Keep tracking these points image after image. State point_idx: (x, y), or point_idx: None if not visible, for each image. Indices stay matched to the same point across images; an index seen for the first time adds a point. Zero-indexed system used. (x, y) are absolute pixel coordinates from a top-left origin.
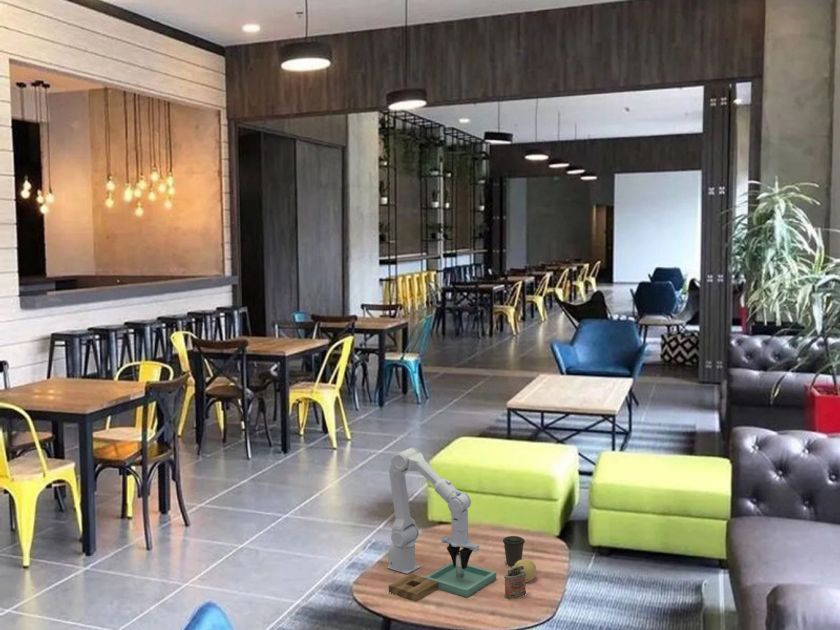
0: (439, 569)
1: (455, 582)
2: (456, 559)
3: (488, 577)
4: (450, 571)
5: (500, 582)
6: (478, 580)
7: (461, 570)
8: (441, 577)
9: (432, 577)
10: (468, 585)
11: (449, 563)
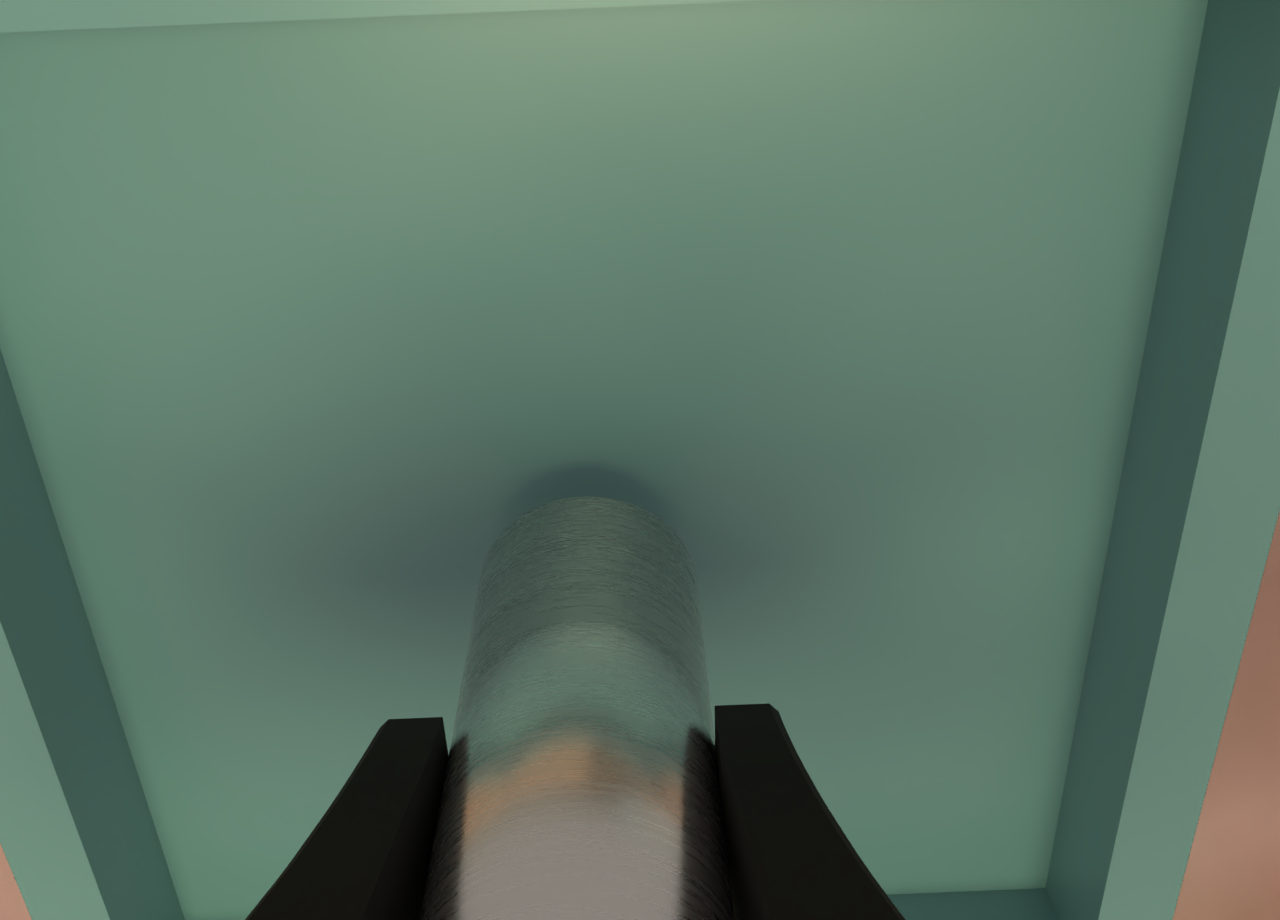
0: (1240, 562)
1: (611, 396)
2: (619, 896)
3: (13, 859)
4: (1041, 733)
5: (5, 906)
6: (292, 740)
7: (475, 673)
8: (1064, 409)
9: (1225, 146)
10: (260, 450)
11: (1173, 898)
